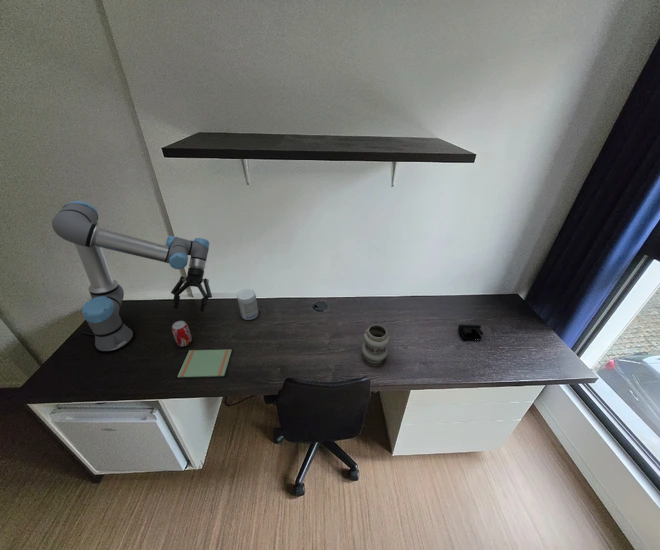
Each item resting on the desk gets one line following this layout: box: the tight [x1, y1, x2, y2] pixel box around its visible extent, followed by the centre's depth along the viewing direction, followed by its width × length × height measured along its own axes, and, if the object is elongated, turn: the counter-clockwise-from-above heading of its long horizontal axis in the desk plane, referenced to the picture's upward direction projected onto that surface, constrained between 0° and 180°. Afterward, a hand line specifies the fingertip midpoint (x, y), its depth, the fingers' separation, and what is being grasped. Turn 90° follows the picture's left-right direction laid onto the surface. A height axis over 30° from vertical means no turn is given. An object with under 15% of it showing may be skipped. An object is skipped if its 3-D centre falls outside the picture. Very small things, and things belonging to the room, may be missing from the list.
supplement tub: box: [236, 288, 259, 321], centre depth 157 cm, size 10×10×15 cm
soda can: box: [171, 320, 193, 348], centre depth 140 cm, size 7×7×12 cm
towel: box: [176, 348, 233, 379], centre depth 133 cm, size 20×15×1 cm
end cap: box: [457, 323, 484, 342], centre depth 151 cm, size 10×7×7 cm
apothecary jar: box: [361, 324, 391, 367], centre depth 134 cm, size 12×12×18 cm
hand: (188, 310), depth 143 cm, fingers open, 13 cm apart
